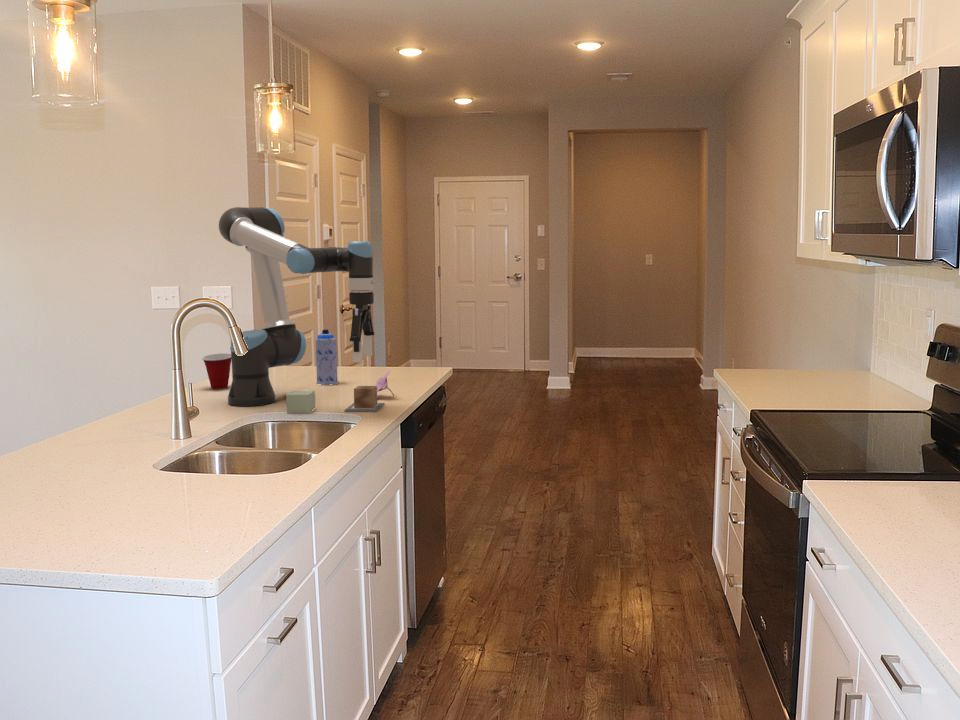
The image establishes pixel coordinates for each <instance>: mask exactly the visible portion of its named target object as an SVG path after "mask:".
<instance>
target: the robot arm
mask: <svg viewBox="0 0 960 720" xmlns="http://www.w3.org/2000/svg"><path fill="white" fill-rule="evenodd" d="M218 220H219V221H218V231H219V234H220V236H221V237H222V238H223V240H226V241H227V242H229V243H231V244H232V245H235V246H237V247H243V246H244V248H245V250H246V251H247V252H248V253H250V254H251V259H252V264H253V269H254V274H255V275H254V276H255V280H256V285H257V293H258V296H259V302H260V303H259V304H260V308H261V313H262V317H263V325H262V327H261V328H260V329H251V330H244V331H241V332H242V334H243V337H244V340H245V342H246V344H247V346H248V352H247V353H246V354H245V355H243V356H237V355H236V354H235V351H234V348H233V343H232V340H231V339H230V350H229V351H230V354H231V376H232V377H231V378H232V382H231V385H230V389H229V392H228V394H227V395H228V396H227V403H228V405H230V406H235V407H236V406H237V407H253V406H254V407H256V406H262V405H269V404H272V403H275V402H276V394H275V393H276V392H275V391H274V388H273V386H272V385H273V384H272V382H271V380H270V375H269V372H270V370H269V369H270V368H275V367H282V366H290V365H292V364H296V363H298V362H300V361H301V360H302V359H303V357H304V355H305V354H306V351H307V350H306V349H307V341H306V337H305V335H304V333H302V330H299V329H297V326H296V323H295V322H294V321H292V320H291V319H290V313H289V307H288V302H287V297H286V291H285V287H284V286H285V285H284V281H283V276H282V270H281V266H280V265H281V264H280V263H282V264H285V265H287V266H286V267H287V268H288V269H289V270H290V271H291V272H292V273H293V274H301V275H306V274H315V273H330V272H331V273H333V272H348V289H349V293H348V294H349V295H348V296H349V298H348V299H349V300H348V301H349V304H350V305H354V306H355V308H352V309H351V310H352V316H351V317H352V319H351V330H350V337H349V342H351V343H352V363H361V364H362V363H363V357H372V356H373V336H375V331H374V326H373V317H372V311H371V309H372V307H371V305H373V304H374V303H375V302H374V298H375V297H374V296H375V295H374V292H373V290H374V284H376V281H375V280H374V251H373V244H372V242H371V241H363V240H362V241H361V240H359V241H358V240H356V241H353V240H352V241H348V244H347V247H338V246H328V247H308V246H306V245H303V244H301V243H298V242H296V241H294V240H293V239H289V238H287V237H285V236H284V233H285V227H286V226H285V221H284V219H283V217H282V216H281V214H280V213H279V212H278V211H276V210H275V209H273V208H269V207H262V206H261V207H240V206H237V207H231V208H229V209H227V210H225V211H224V212H223V214H222V215H221V216H220V218H219V219H218ZM362 333H363V334H362Z"/></svg>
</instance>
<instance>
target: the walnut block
mask: <svg viewBox="0 0 960 720" xmlns="http://www.w3.org/2000/svg"><path fill="white" fill-rule="evenodd" d="M353 403H354V408H374V407H375V406H376V405H377V403H378V392H377V386H376V385H357V386H356V387H354V388H353Z"/></svg>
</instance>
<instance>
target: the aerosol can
mask: <svg viewBox="0 0 960 720" xmlns="http://www.w3.org/2000/svg"><path fill="white" fill-rule="evenodd" d="M337 353H338V352H337V339H336V337H335V336H334V334H332V333H331V332H329V329H327V328H326V329H322V332H321V333H320V334H318V335H317V337H315V362H316V363H315V366H316V385H317V384H321V385H320V386H331V385H330V384H335V385H337V384H336V383H338V384H339V381H338V357H337Z"/></svg>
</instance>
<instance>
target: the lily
mask: <svg viewBox="0 0 960 720" xmlns="http://www.w3.org/2000/svg"><path fill="white" fill-rule="evenodd" d="M391 372H392V369H390V370H389V369H388V370H387V371H386V372H385V374H384V376H383V377H382V376H381V377H379V378H377V380H376V381H375V386H377V393H379V392H381V391H383V390H386V389H388V390H389V391H390V392H391V394H392V396H393V397H394V396H395V394H394V392H392V390H391V389H390V388H389V385H388V377H389V374H391Z"/></svg>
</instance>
